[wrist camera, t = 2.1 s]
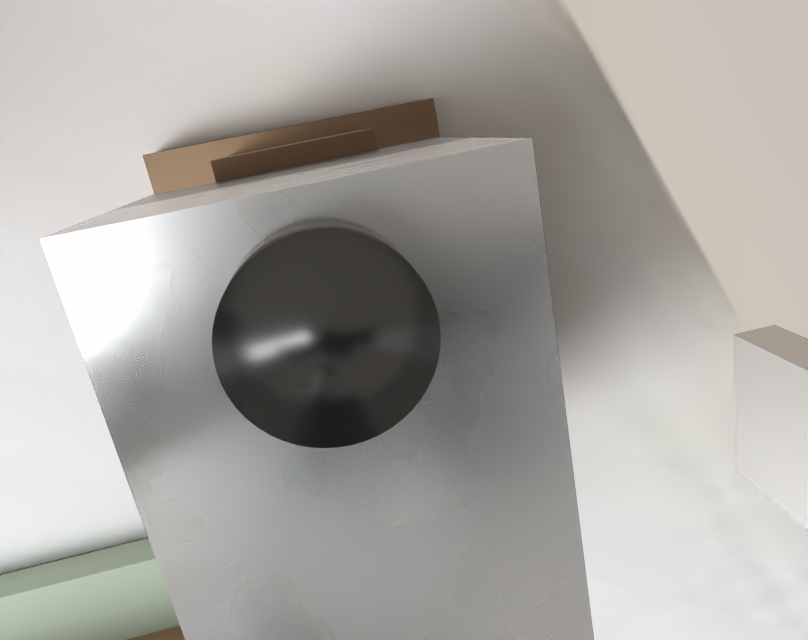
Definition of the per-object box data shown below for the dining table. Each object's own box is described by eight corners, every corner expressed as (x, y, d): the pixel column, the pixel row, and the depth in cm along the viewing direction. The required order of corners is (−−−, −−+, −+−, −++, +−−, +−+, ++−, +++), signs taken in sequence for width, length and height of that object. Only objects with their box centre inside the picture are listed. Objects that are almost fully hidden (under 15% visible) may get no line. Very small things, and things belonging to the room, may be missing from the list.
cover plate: (539, 590, 16) (632, 767, 11) (260, 666, 15) (243, 885, 11) (471, 137, 13) (563, 138, 8) (112, 210, 12) (-1, 254, 8)
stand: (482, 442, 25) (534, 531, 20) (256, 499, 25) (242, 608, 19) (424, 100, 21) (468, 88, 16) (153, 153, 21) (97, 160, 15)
